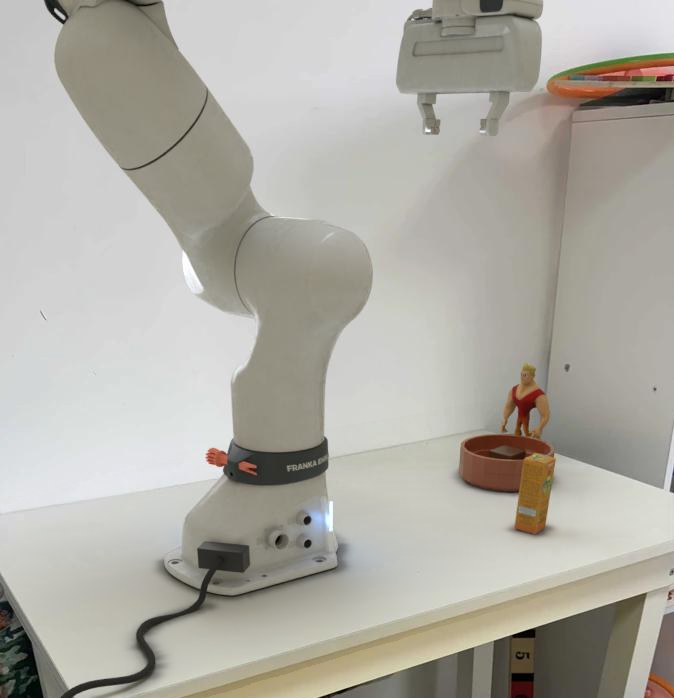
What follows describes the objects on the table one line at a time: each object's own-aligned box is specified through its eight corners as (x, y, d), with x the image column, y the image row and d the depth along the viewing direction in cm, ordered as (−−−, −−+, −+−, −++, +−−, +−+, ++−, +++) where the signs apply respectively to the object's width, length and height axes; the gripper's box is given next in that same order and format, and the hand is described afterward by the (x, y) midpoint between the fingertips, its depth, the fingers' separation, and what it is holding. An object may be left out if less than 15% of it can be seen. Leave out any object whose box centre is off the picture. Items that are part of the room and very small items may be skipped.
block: (508, 481, 133) (510, 456, 131) (487, 475, 136) (489, 450, 134) (523, 475, 136) (526, 450, 134) (502, 469, 138) (504, 445, 136)
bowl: (515, 499, 128) (519, 467, 125) (440, 477, 137) (442, 446, 134) (568, 477, 137) (572, 446, 134) (494, 458, 146) (496, 428, 143)
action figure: (492, 447, 151) (499, 359, 144) (506, 443, 153) (514, 356, 146) (533, 460, 144) (543, 369, 138) (548, 456, 146) (558, 366, 140)
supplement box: (537, 535, 116) (545, 462, 111) (513, 529, 117) (520, 457, 113) (548, 527, 118) (556, 456, 113) (524, 522, 120) (532, 451, 115)
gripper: (388, 7, 108) (382, 133, 115) (522, -8, 95) (507, 135, 102) (422, 13, 112) (415, 135, 119) (556, -1, 99) (539, 137, 105)
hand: (458, 135), depth 110 cm, fingers open, 8 cm apart
